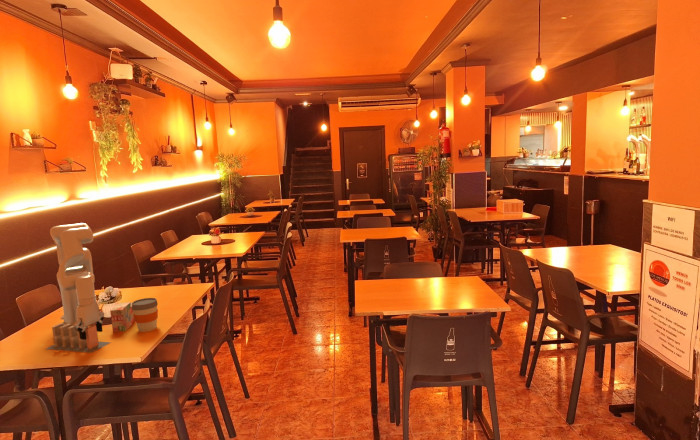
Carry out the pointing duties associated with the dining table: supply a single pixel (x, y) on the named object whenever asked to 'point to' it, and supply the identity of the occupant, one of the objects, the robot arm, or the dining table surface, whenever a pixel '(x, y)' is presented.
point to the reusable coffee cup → (145, 314)
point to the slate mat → (77, 349)
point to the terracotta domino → (91, 336)
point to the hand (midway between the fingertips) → (91, 335)
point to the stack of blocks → (122, 316)
